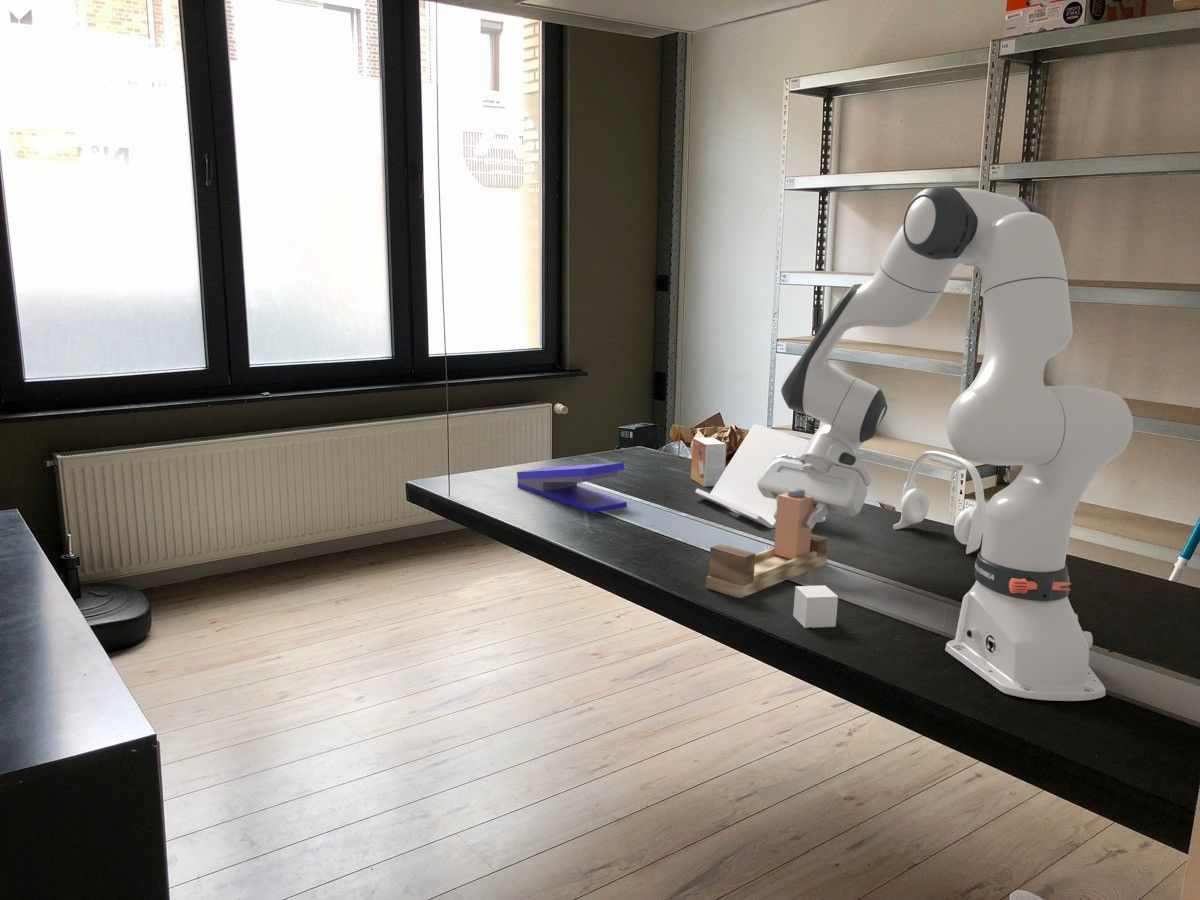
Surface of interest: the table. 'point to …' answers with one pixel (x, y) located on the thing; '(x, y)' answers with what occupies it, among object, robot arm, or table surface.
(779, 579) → the track
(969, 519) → the headset
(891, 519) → the table surface
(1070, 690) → the robot arm
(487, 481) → the table surface
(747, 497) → the tablet stand
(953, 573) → the table surface
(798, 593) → the white cube
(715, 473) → the small box
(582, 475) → the stapler
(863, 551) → the table surface
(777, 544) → the pink capped carton
